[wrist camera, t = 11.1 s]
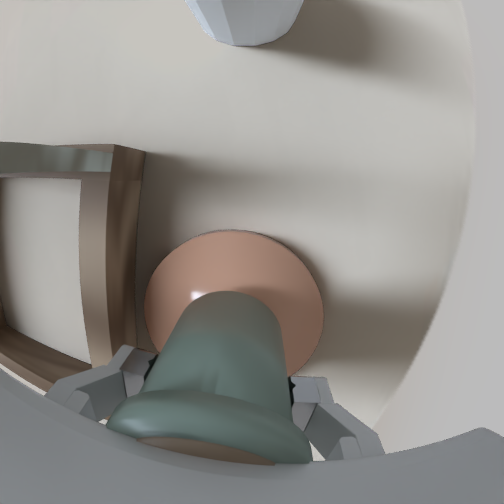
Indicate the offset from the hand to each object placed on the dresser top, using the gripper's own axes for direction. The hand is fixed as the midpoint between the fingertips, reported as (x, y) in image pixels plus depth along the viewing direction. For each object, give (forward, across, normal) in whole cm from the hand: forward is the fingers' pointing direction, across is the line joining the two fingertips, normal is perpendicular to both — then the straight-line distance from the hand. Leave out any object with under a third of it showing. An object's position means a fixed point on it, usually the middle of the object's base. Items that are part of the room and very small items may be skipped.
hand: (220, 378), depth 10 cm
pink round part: (+6, 0, 0) cm, 6 cm away
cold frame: (+6, +14, 0) cm, 16 cm away
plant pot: (+3, 0, 0) cm, 3 cm away
